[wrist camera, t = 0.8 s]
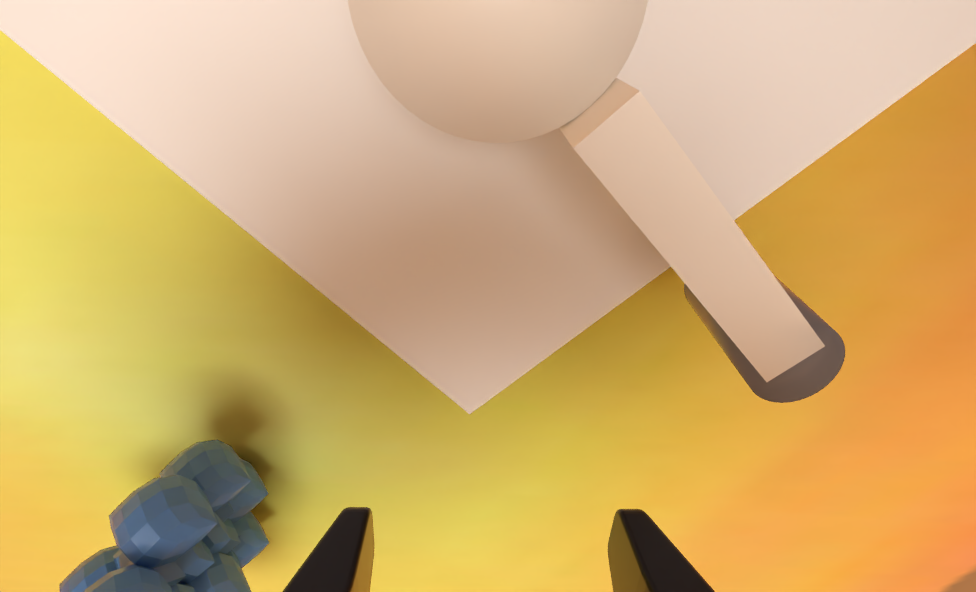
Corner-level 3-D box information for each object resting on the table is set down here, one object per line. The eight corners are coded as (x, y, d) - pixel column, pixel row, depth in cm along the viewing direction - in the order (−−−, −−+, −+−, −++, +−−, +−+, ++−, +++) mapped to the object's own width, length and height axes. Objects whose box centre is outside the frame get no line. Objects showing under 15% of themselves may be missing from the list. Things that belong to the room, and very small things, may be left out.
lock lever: (316, -21, 13) (253, -26, 9) (503, -243, 11) (523, -367, 8) (663, 357, 19) (715, 452, 15) (824, 248, 17) (932, 323, 13)
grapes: (121, 356, 22) (-184, 678, 12) (293, 372, 23) (148, 690, 13) (160, 545, 28) (-25, 880, 17) (297, 554, 29) (199, 881, 18)
